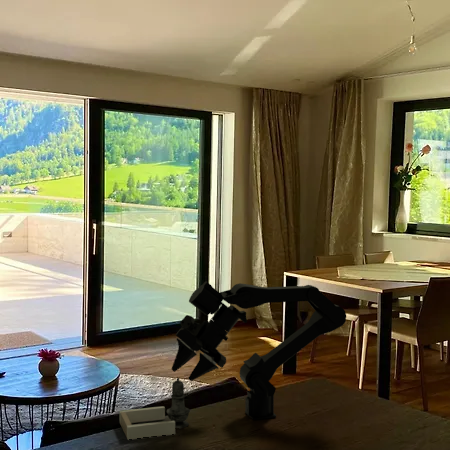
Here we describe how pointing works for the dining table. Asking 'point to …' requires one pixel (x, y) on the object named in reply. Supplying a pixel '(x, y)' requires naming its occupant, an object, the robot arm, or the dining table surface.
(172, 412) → the salt shaker
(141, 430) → the white shallow tray
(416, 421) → the dining table surface
